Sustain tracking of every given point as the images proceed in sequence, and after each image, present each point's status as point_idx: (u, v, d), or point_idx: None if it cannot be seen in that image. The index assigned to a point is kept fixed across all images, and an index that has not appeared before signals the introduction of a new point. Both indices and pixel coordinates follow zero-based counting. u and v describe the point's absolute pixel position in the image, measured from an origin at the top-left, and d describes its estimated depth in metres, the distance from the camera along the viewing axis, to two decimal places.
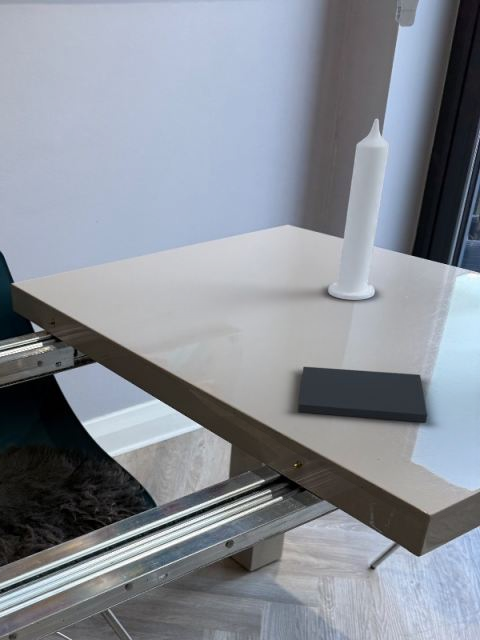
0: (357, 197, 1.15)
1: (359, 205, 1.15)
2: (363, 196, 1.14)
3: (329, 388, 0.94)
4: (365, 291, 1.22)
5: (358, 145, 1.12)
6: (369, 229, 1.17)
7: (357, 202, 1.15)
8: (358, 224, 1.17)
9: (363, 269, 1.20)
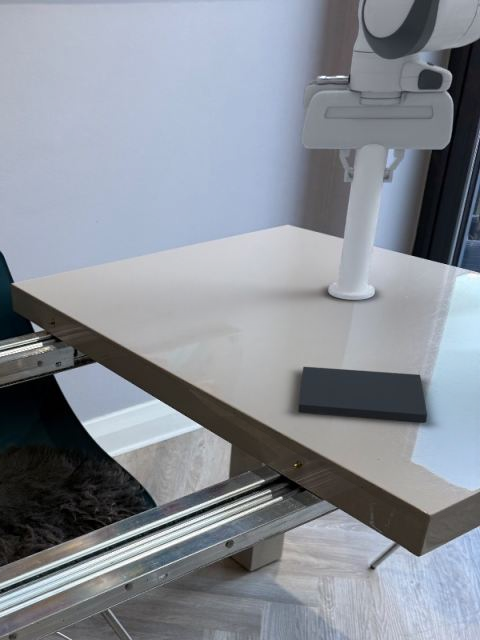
0: (357, 197, 1.15)
1: (359, 205, 1.15)
2: (363, 196, 1.14)
3: (329, 388, 0.94)
4: (365, 291, 1.22)
5: None
6: (369, 229, 1.17)
7: (357, 202, 1.15)
8: (358, 224, 1.17)
9: (363, 269, 1.20)
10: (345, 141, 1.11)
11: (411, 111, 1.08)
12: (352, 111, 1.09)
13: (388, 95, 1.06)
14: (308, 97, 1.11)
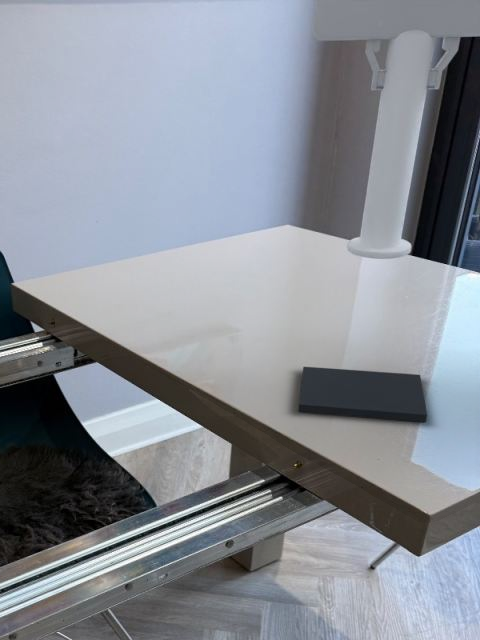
0: (389, 111, 0.82)
1: (392, 122, 0.82)
2: (398, 109, 0.81)
3: (329, 388, 0.94)
4: (398, 247, 0.89)
5: None
6: (406, 157, 0.84)
7: (389, 118, 0.82)
8: (390, 150, 0.83)
9: (396, 216, 0.87)
10: (374, 27, 0.78)
11: None
12: None
13: None
14: None
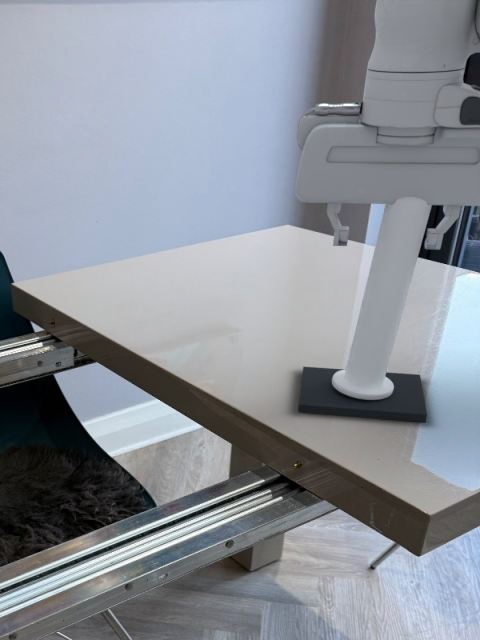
0: (383, 266, 0.84)
1: (384, 277, 0.84)
2: (391, 266, 0.83)
3: (329, 388, 0.94)
4: (381, 388, 0.91)
5: None
6: (395, 310, 0.86)
7: (382, 273, 0.84)
8: (381, 302, 0.85)
9: (381, 361, 0.89)
10: (355, 193, 0.80)
11: (449, 153, 0.77)
12: (366, 153, 0.78)
13: (417, 132, 0.75)
14: (304, 132, 0.80)
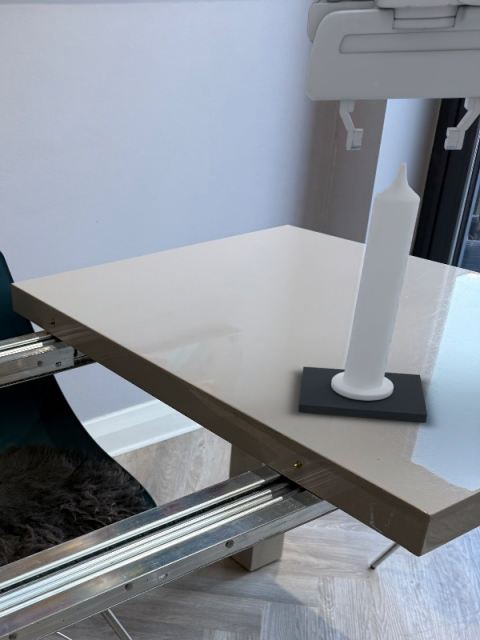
0: (374, 267, 0.84)
1: (376, 278, 0.84)
2: (382, 266, 0.83)
3: (329, 388, 0.94)
4: (381, 388, 0.91)
5: (377, 198, 0.81)
6: (389, 310, 0.86)
7: (374, 274, 0.84)
8: (374, 303, 0.86)
9: (379, 361, 0.89)
10: (370, 87, 0.75)
11: (471, 38, 0.71)
12: (381, 41, 0.73)
13: (437, 13, 0.70)
14: (314, 22, 0.74)
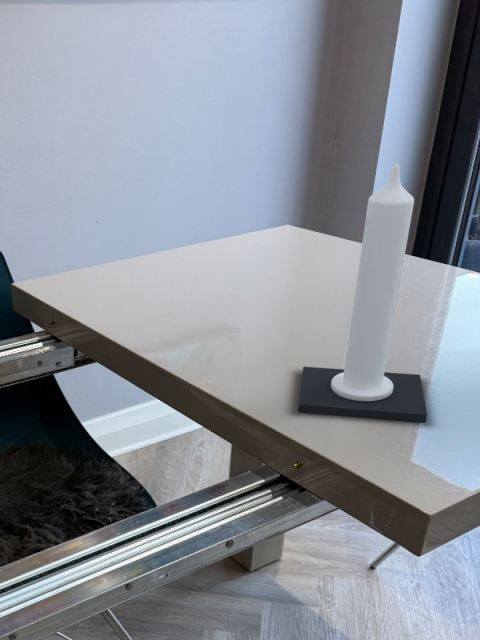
0: (370, 269, 0.84)
1: (372, 280, 0.84)
2: (378, 268, 0.83)
3: (329, 388, 0.94)
4: (380, 389, 0.91)
5: (371, 200, 0.81)
6: (386, 311, 0.86)
7: (370, 276, 0.84)
8: (371, 304, 0.86)
9: (378, 362, 0.89)
10: None
11: None
12: None
13: None
14: None
